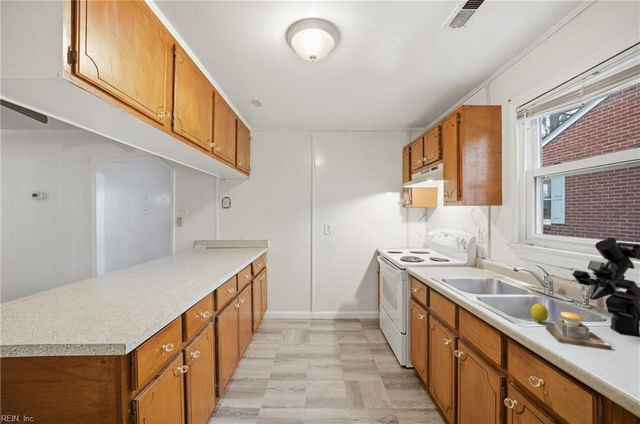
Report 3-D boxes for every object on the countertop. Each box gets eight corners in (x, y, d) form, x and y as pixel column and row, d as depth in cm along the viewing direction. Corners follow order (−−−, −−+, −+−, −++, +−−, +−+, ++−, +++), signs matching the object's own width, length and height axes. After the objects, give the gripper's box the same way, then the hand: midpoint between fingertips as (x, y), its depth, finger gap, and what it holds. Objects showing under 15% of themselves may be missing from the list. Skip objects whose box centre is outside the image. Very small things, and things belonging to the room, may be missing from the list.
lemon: (548, 322, 117) (548, 303, 117) (547, 326, 112) (547, 306, 112) (531, 319, 120) (531, 300, 120) (530, 322, 116) (530, 303, 116)
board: (591, 335, 105) (591, 321, 105) (611, 350, 94) (611, 335, 94) (545, 329, 110) (546, 316, 110) (559, 342, 99) (559, 328, 99)
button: (577, 326, 105) (577, 313, 105) (586, 332, 99) (586, 318, 99) (557, 323, 107) (558, 310, 107) (564, 329, 101) (565, 316, 101)
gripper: (576, 250, 115) (553, 278, 113) (635, 258, 97) (610, 291, 94) (591, 269, 117) (569, 297, 114) (652, 280, 98) (627, 313, 96)
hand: (591, 299), depth 105 cm, fingers closed
